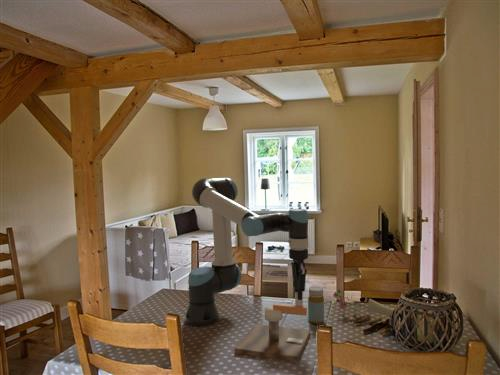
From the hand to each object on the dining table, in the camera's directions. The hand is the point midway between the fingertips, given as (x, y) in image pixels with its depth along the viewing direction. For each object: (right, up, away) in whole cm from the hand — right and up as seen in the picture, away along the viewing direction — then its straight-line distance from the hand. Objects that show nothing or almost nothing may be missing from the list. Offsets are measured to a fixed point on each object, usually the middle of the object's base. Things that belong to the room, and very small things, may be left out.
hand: (299, 306), depth 161 cm
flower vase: (+35, -12, +21) cm, 43 cm away
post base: (-10, -14, -2) cm, 17 cm away
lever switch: (-6, -4, -4) cm, 8 cm away
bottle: (+10, -13, +20) cm, 26 cm away
